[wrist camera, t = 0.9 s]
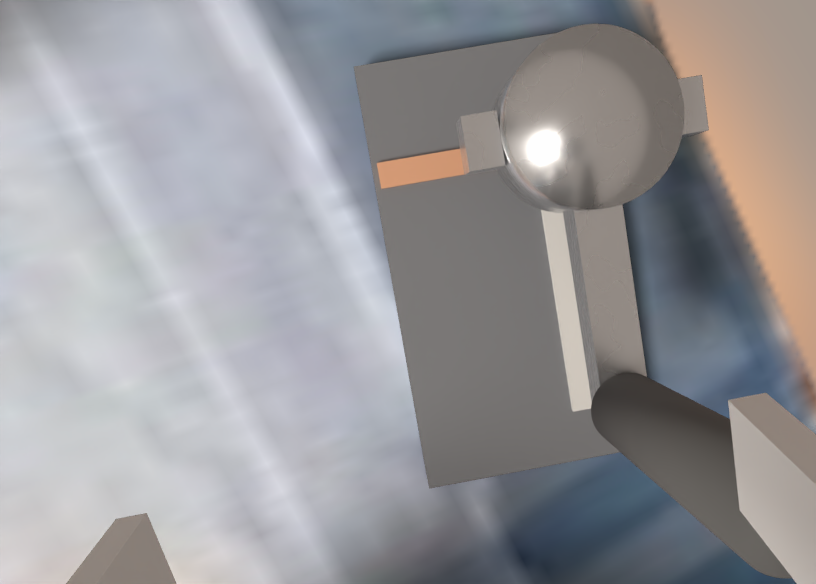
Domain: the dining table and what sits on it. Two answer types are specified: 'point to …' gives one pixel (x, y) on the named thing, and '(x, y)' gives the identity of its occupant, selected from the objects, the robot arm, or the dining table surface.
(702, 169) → the dining table surface
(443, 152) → the base plate
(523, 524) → the dining table surface
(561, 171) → the grey lever handle
